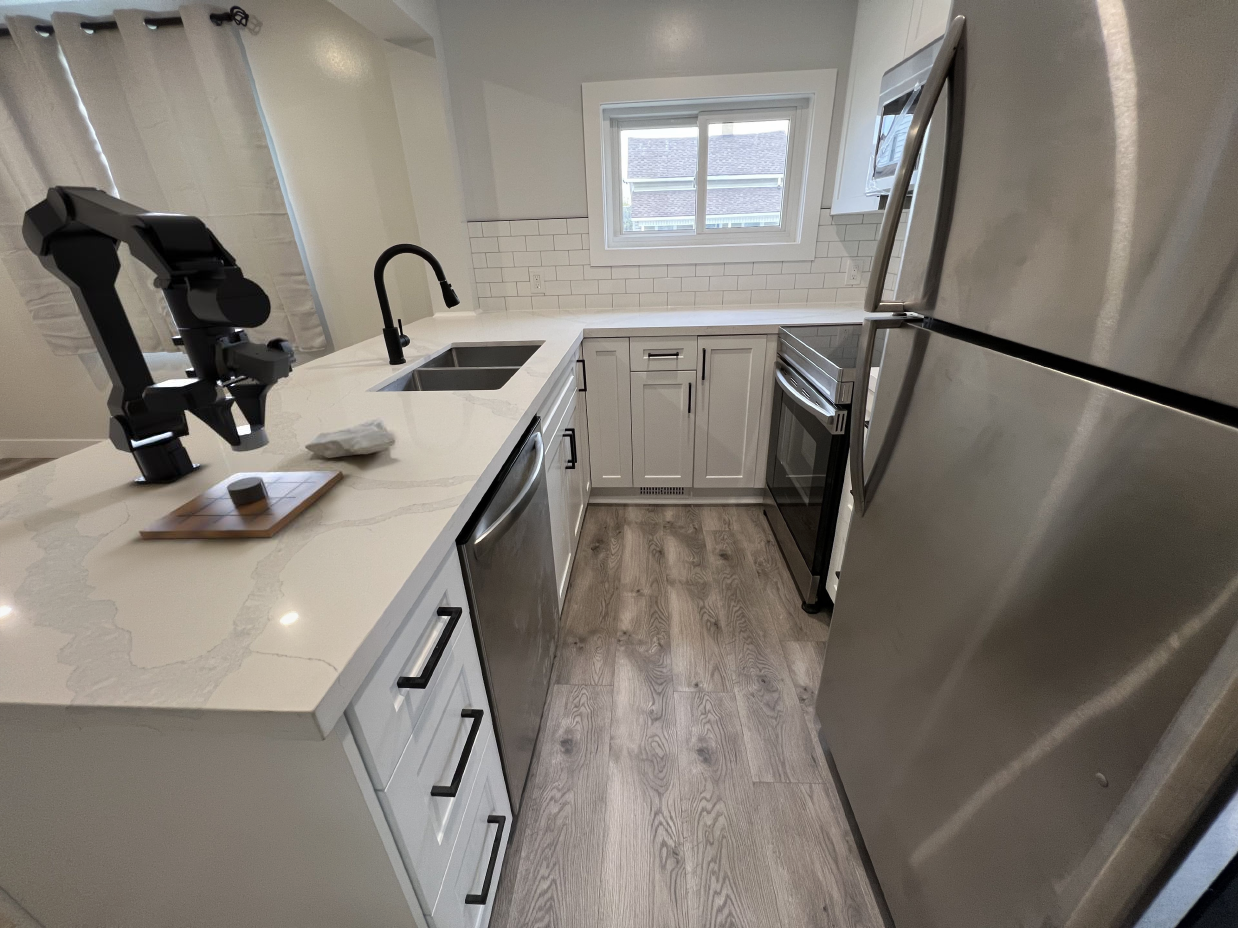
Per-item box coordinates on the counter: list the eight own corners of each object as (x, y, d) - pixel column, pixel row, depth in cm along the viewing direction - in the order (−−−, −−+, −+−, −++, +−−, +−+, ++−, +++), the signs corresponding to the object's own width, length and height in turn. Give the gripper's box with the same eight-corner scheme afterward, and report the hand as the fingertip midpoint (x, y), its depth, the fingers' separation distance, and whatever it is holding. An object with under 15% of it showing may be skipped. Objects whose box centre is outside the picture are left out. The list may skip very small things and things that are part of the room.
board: (142, 538, 67) (138, 531, 66) (239, 479, 83) (236, 472, 83) (271, 537, 66) (267, 529, 66) (343, 477, 82) (341, 470, 82)
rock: (304, 484, 81) (400, 457, 86) (293, 458, 79) (391, 432, 84) (319, 448, 99) (397, 428, 104) (310, 426, 98) (389, 407, 102)
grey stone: (224, 452, 68) (217, 436, 67) (247, 440, 72) (241, 424, 71) (255, 451, 68) (249, 435, 67) (276, 439, 72) (271, 423, 71)
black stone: (225, 504, 72) (219, 490, 71) (246, 490, 76) (241, 476, 75) (254, 504, 72) (248, 489, 71) (274, 490, 76) (269, 476, 75)
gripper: (208, 337, 54) (257, 466, 61) (310, 312, 71) (340, 415, 78) (111, 340, 55) (170, 468, 61) (236, 315, 72) (272, 417, 78)
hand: (248, 439), depth 70 cm, fingers closed on grey stone, 4 cm apart
